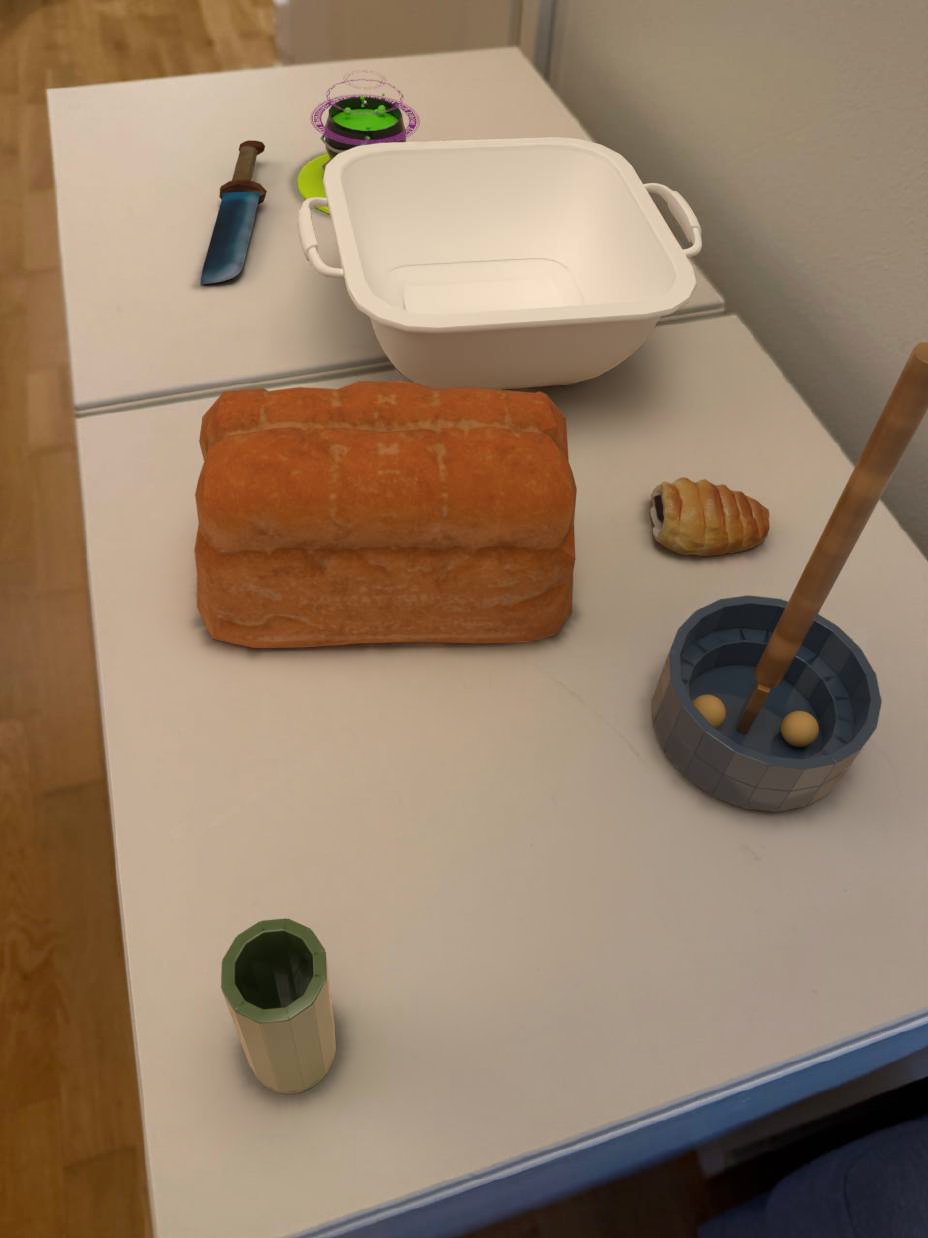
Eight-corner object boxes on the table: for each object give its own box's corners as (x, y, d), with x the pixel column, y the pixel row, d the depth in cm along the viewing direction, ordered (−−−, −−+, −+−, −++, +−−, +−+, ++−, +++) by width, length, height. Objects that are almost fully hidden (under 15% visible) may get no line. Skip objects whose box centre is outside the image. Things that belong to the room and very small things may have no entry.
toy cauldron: (297, 149, 114) (290, 46, 106) (428, 151, 116) (432, 49, 108) (297, 219, 105) (289, 112, 97) (439, 220, 107) (444, 115, 98)
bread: (577, 648, 72) (614, 497, 60) (196, 656, 69) (158, 500, 58) (552, 509, 81) (581, 353, 69) (213, 512, 78) (183, 350, 66)
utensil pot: (310, 1109, 52) (294, 1040, 43) (232, 1071, 53) (200, 995, 44) (350, 1025, 55) (344, 943, 45) (276, 990, 56) (255, 903, 46)
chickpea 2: (808, 759, 67) (820, 739, 65) (772, 745, 67) (783, 726, 65) (814, 731, 68) (826, 711, 66) (779, 718, 69) (791, 698, 67)
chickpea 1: (724, 722, 68) (726, 737, 66) (688, 721, 69) (689, 736, 67) (725, 689, 68) (727, 703, 65) (688, 688, 68) (689, 703, 66)
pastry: (756, 502, 83) (770, 468, 80) (772, 564, 79) (788, 531, 76) (643, 498, 82) (653, 463, 79) (654, 560, 78) (665, 526, 75)
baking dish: (619, 249, 106) (644, 127, 96) (713, 427, 89) (755, 301, 79) (292, 267, 100) (282, 139, 90) (325, 461, 83) (317, 330, 73)
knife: (241, 267, 95) (190, 270, 95) (250, 294, 97) (199, 297, 98) (274, 128, 109) (229, 132, 109) (281, 155, 111) (237, 158, 112)
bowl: (827, 847, 63) (863, 801, 59) (626, 768, 66) (644, 718, 61) (860, 689, 71) (894, 637, 67) (679, 624, 74) (699, 570, 69)
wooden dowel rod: (754, 737, 68) (951, 374, 44) (728, 727, 68) (910, 362, 45) (762, 710, 69) (957, 345, 46) (737, 701, 69) (917, 333, 46)
